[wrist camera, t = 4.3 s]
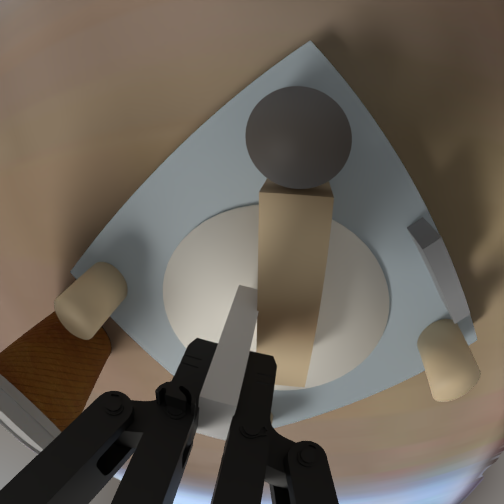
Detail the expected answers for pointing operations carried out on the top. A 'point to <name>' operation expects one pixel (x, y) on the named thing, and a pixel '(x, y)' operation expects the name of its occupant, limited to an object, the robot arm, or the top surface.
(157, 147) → the top surface
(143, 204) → the board
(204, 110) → the top surface
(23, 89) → the top surface
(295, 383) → the stool leg
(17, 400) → the disposable coffee cup
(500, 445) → the top surface
